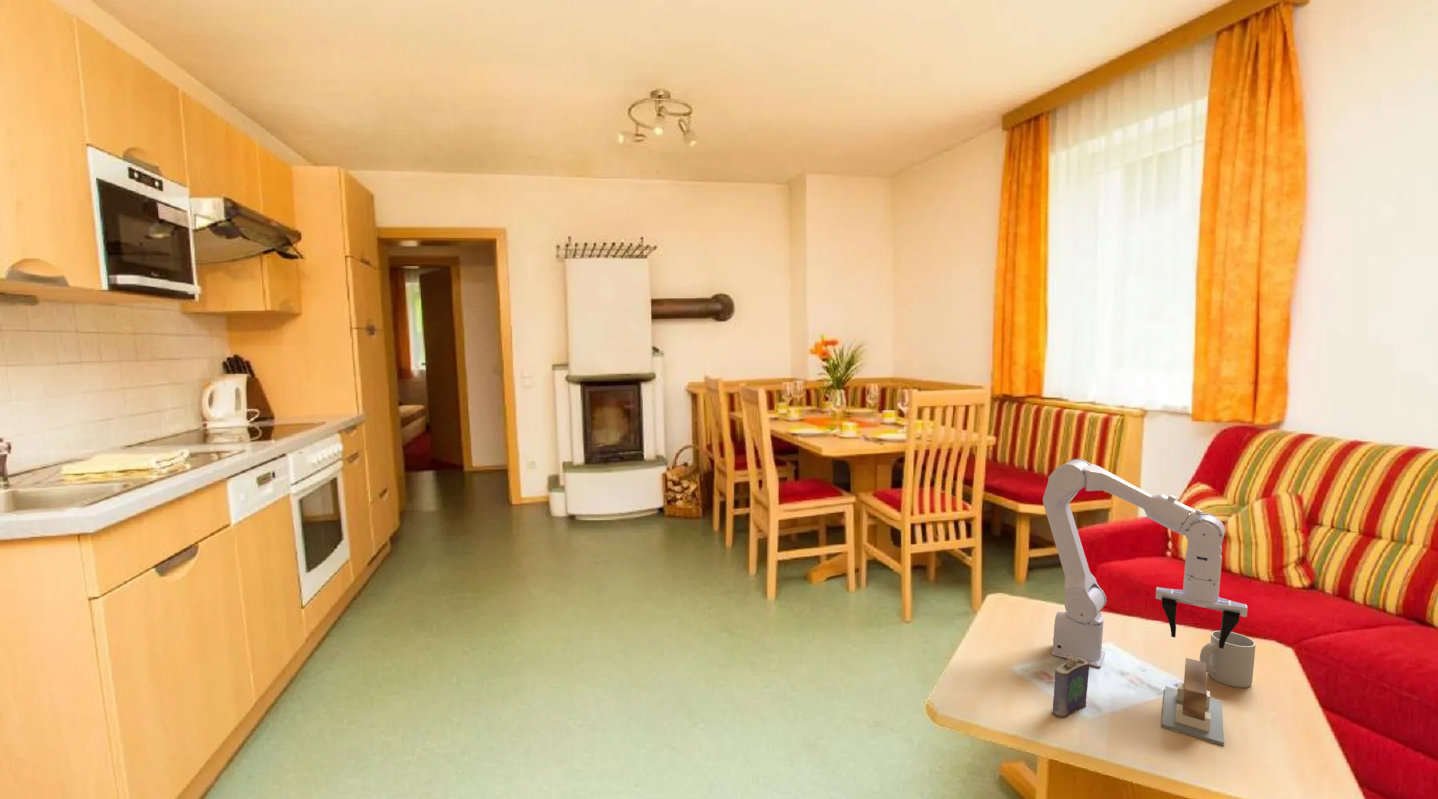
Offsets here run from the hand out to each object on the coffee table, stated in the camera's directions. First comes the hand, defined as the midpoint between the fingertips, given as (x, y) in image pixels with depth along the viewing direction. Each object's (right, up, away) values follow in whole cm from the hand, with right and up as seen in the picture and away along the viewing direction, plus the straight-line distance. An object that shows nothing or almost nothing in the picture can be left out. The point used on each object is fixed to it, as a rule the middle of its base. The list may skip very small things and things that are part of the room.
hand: (1196, 640), depth 128 cm
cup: (+9, -10, +5) cm, 15 cm away
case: (-7, -8, -8) cm, 13 cm away
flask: (-29, -11, -6) cm, 32 cm away
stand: (-7, -11, -8) cm, 15 cm away
